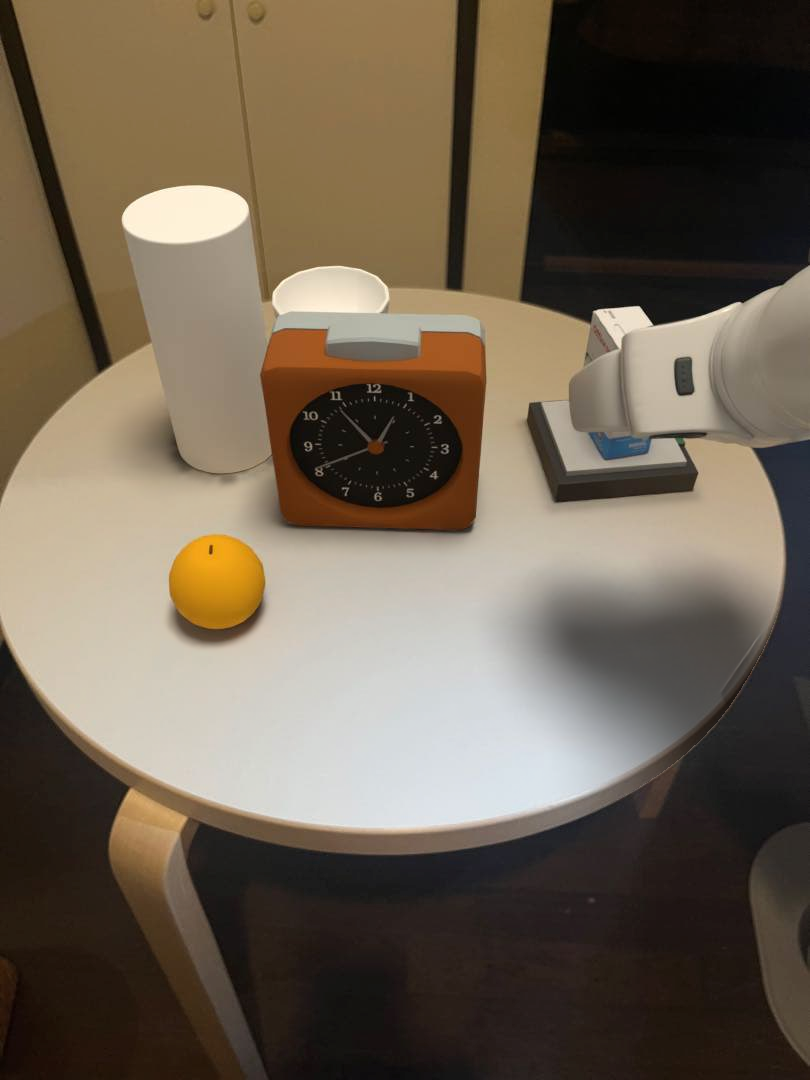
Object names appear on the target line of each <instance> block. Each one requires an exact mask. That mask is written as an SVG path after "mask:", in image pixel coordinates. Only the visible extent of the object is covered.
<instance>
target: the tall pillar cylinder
mask: <svg viewBox="0 0 810 1080" xmlns="http://www.w3.org/2000/svg"><path fill="white" fill-rule="evenodd" d="M121 225H122V226H121V227H122V230H123V233H124V238H125V242H126V245H127V250H128V254H129V257H130V263H131V266H132V269H133V274H134V277H135V282H136V286H137V290H138V294H139V297H140V303H141V305H142V309H143V314H144V318H145V321H146V325H147V330H148V333H149V338H150V341H151V346H152V351H153V354H154V358H155V361H156V362H155V363H156V366H157V369H158V375H159V377H160V382H161V386H162V390H163V393H164V398H165V402H166V407H167V410H168V414H169V417H170V418H169V419H170V421H171V426H172V430H173V433H174V437H175V441H176V445H177V449H178V453H179V455H180V457H181V458H182V460H184V462H185V463H187V464H188V465H189V466H191V467H193V468H194V469H197V470H199V471H202V472H206V473H209V474H210V473H212V474H233V473H238V472H243V471H246V470H250V469H252V468H254V467H257V466H259V465H260V464H262V463H264V462H265V461H266V460H268V459H269V458H270V457H272V451H271V445H270V438H269V431H268V424H267V417H266V410H265V403H264V397H263V391H262V384H261V378H260V373H261V369H262V366H263V362H264V358H265V355H266V351H267V347H268V344H269V343H268V337H267V329H266V323H265V316H264V315H265V314H264V308H263V302H262V301H263V300H262V294H261V286H260V279H259V272H258V264H257V258H256V250H255V243H254V234H253V228H252V220H251V213H250V207H249V204H248V202H247V201H246V199H245V198H244V197H242V196H241V195H240V194H238V193H236V192H234V191H232V190H229V189H226V188H223V187H219V186H211V185H202V184H201V185H199V184H198V185H195V184H193V185H192V184H191V185H180V186H173V187H167V188H162V189H158V190H156V191H152V192H150V193H147V194H145V195H143V196H141V197H139V198H137V199H135V200H134V201H133V202H131V203H130V204H129V205H128V206H127V207H126V208H125V210H124V211H123V213H122V215H121Z"/></svg>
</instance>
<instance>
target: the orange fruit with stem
mask: <svg viewBox="0 0 810 1080" xmlns="http://www.w3.org/2000/svg"><path fill="white" fill-rule="evenodd" d="M168 588H169V589H168V591H169V596H170V598H171V601H172V603H173V604H174V605H175V607H176V609H177V611H178V612H179V614H180V615H181V616H182V617H184V618H185V619H186V620H188V621H189V622H191V623H192V624H193V625H196V626H199V627H201V628H203V629H208V630H223V629H229V628H232V627H234V626H236V625H239V624H241V623H243V622H245V621H247V619H249V618H250V616H252V615H253V614H254V613H255V611H256V610H257V608H258V607H259V606H260V604H261V602H262V600H263V596H264V592H265V589H266V576H265V569H264V565H263V563H262V560H261V559H260V558H259V556H258V555H257V554H256V553H255V551H254V549H252V547H251V546H249V545H248V544H247V543H245V542H243V541H242V540H240V539H239V538H236V537H232V536H229V535H226V534H217V533H216V534H215V533H214V534H207V535H203V536H200V537H198V538H195V539H193V540H191V541H190V542H189V543H188V544H186V545H185V546H183V548H181V550H180V551H179V552H178V554H177V555H176V556H175V558H174V559H173V562H172V564H171V567H170V570H169V574H168Z"/></svg>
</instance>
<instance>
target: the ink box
mask: <svg viewBox="0 0 810 1080" xmlns="http://www.w3.org/2000/svg"><path fill="white" fill-rule="evenodd" d="M652 325H654V324H653V323H652V321H651V320H650V319H649V317H648V315H646V313H645V312H644V311H643V308H641V306H639V305H637V306H636V305H634V306H624V307H614V308H612V307H611V308H601V309H597V310H593V311H592V315H591V322H590V325H589V326H590V327H589V332H588V339H587V343H586V349H585V355H584V361H583V367H585V366H586V365H588V364H589V363H591V362H592V361H594V360H595V359H597V358H598V357H600V356H602V355H604V354H606V353H609V352H611V351H614V350H617V349H621V341H622V337H623V336H624V335H625V334H627V333H628V332H630V331H632V330H635V329H640V328H646V327H649V326H652ZM583 367H582V368H583ZM589 433H590V435H591V437H592V438H593V440H594V442H595V443H596V445H597V447H598V449H599V450H600V452H601V454H602V456H603V457H604V459H610V458H617V457H623V456H630V455H636V454H642V453H647V452H648V451H649V448H650V444H651V440H652V439H650V438H639V439H637V438H633V437H631V436H630V433H629V431H621V432H589Z"/></svg>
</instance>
